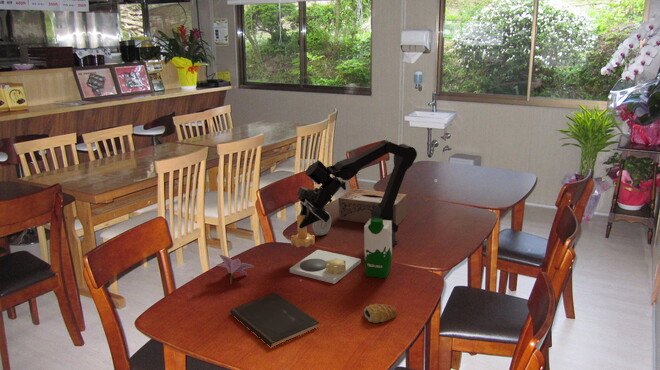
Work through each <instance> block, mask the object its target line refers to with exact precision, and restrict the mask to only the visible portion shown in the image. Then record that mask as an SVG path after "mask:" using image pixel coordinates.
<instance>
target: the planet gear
mask: <svg viewBox="0 0 660 370" xmlns="http://www.w3.org/2000/svg"><path fill="white" fill-rule="evenodd" d="M305 216H306V215H300V214H299V215H297V216H296V219H297V220H296V222H297V224H296V225H297V234H294V235H291V236H290V237H291V238H290V245H291V246H296V247H295V248H300V247H303V248H309V246H311V245H312V246H314V244H315V239H316V238H315V235H314V234H310V233H309V232H308V227H307V226H306V227H304V228H300V227H299V226H300V224H301V222H302V221H303V219H304V218H305Z"/></svg>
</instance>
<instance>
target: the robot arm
mask: <svg viewBox="0 0 660 370" xmlns="http://www.w3.org/2000/svg"><path fill="white" fill-rule="evenodd" d="M388 154H392V155H393V169H392V171H391V173H390V177H389V178H388V182H387V184H386V187H385V190H384V192H385V193H384V195H383V198H382V201H381V203H379V204H378V205H374V206H373V210H372V212H371V219H372V218H381V219H383V220H390V221H392V248H393V247H394V246H395V245H396V244H398V241H397V240H396V239H397V238H396V233H397V232H398V230H399V225H396V224H395V223H394V222H393V217H394V211H393V206H394V203H395V200H396V198H397V195H398V194H399V192H400V189H401V186H402V183H403V182H404V179H405V175H406V173H407V171H408V170H409V169H410V168H411V167H412V166H413V165H414V162H415V160H416V159H417V157H418V151H417V150H416V148H415V147H413V146H410V145H408V144H406V143H400V144H397V143H395V142H392V141H389V140H387V139H384V140H381V141H380V142H379V143H377V144H376V145H373V146H372V147H370V148H369V149H366V150H365V151H362V152H361V153H360V154H358V155H356V156H353V157H350V158H344V159H342V160H340V161H337V162H336V163H334V164H333V165H330V166H325V164H324V163H323V162H322V161H321V160H319V159H317V160H316V162H313V163H312V164H310V165H308V167H307V168H306V171H305V175H306V176H307V177H308V178H309V179H310V180H312V181H313V182H314V183H315V184H317V185H320V186H319V188H317V187H316V188H313V189H311V188H307V187H303V186H299V188H298V191H297V193H296V195H297V196H298V197H297V199H298V200H299V201H301V202H300V207H301V208H300V209H301V210H300V213H299V215H306V216H305V218H304V219H303V221H302V222H301V224H300V226H299V227H300V228H304V227H306V226H309V225H313V223H314V222H316V221H319V220H320V221H321V219H322V221H323V220H324V221H325V222H326V223H327V221H328V220H329V219H330V216H331V215H329V214H330V213H329V212H328V211H326V209H325V207H326V206H327V204H328V203H332V202H333V199H332V198H333V197H334V196H335V195H336V193H337V192H338V191H339V190H340V189H342V190H344V191H346V190H347V187H346V184H347V182H345V181H349V180H352V179H353V178H354V177H355V176H356V175H357V174H358V173H359V172H360V170H362V168H364V167H366V166H367V165H369V164H371V163H373V162H375V161H376V160H378V159H381V158H382V157H384V156H385V155H388ZM332 176H333V177H332ZM339 178H340V179H341V180H340V179H339ZM327 212H328V213H329V214H328V213H327ZM320 218H321V219H320ZM295 224H296V225H297V221H296V222H295Z"/></svg>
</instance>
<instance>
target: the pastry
mask: <svg viewBox="0 0 660 370" xmlns="http://www.w3.org/2000/svg"><path fill="white" fill-rule="evenodd" d="M363 314H364V317H365V319H367V321H368V322H370V323H373V324H379V323H385V322H387V321H389V320H392V319H394V318H395V317H396V316H397V315H398V311H397V308H396V307H395V306H393V305H390V304H387V303H386V304H385V303H384V304H383V303H380V304H379V303H374V304H369V305H368V306H365V307H364V309H363Z"/></svg>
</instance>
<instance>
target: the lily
mask: <svg viewBox="0 0 660 370" xmlns="http://www.w3.org/2000/svg"><path fill="white" fill-rule="evenodd" d="M219 257H220V258H221V260H222V261H223V262H222V263H218V264H216V266H217V267H223V268H226V269H227V272H228V273H229V274H230V281H232V280H233V279H232V278H233V274H234V273H235V272H238V273H240V274H242V275H245V276H248V273H247V271H245V270H246V269H250V268H254V267H255V266H254V265H253V264H249V263H246V262H241V260H240V259H239V258H235V259H232V258H231V257H228V256H226V255H223V254H219ZM230 284H231V285H232V282H230Z"/></svg>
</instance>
